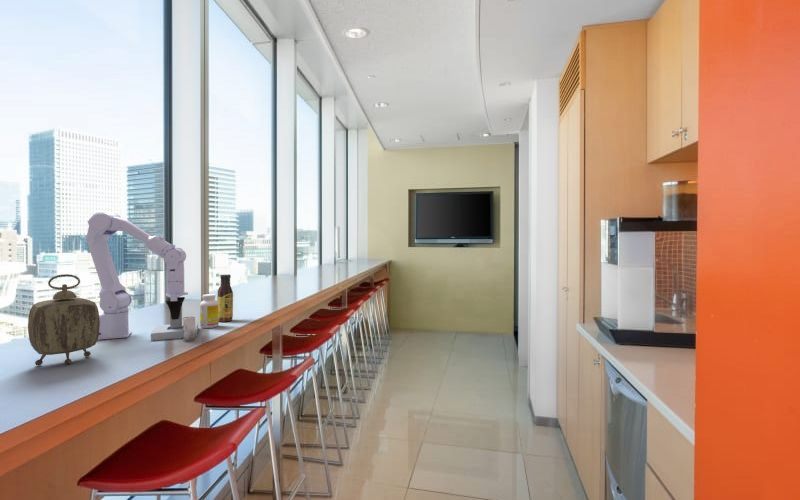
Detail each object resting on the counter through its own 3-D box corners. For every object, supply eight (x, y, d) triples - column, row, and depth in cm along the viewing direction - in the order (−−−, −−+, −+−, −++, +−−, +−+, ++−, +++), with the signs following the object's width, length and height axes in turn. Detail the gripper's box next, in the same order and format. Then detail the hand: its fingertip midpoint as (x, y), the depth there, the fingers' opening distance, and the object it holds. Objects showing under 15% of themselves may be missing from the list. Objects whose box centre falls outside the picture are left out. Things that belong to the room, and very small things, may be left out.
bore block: (150, 340, 137) (150, 333, 137) (156, 332, 149) (156, 325, 149) (196, 336, 143) (196, 329, 143) (198, 328, 155) (197, 322, 155)
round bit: (183, 342, 135) (183, 318, 135) (183, 339, 138) (183, 317, 138) (195, 341, 136) (194, 318, 136) (195, 338, 140) (195, 316, 139)
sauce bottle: (226, 322, 167) (226, 275, 166) (213, 322, 168) (213, 275, 167) (236, 319, 173) (236, 274, 172) (223, 319, 174) (223, 273, 174)
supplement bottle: (221, 325, 162) (221, 293, 161) (212, 328, 155) (212, 296, 155) (206, 324, 162) (206, 293, 162) (196, 328, 156) (196, 295, 155)
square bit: (170, 328, 144) (170, 306, 143) (171, 326, 147) (171, 305, 147) (181, 328, 145) (181, 306, 145) (182, 326, 148) (182, 304, 148)
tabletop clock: (93, 354, 120) (92, 272, 120) (102, 360, 115) (100, 273, 114) (28, 366, 109) (26, 275, 108) (34, 373, 103) (32, 277, 103)
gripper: (186, 282, 141) (187, 320, 141) (188, 278, 154) (189, 313, 154) (163, 283, 138) (163, 322, 138) (167, 279, 151) (168, 315, 151)
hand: (175, 318), depth 146 cm, fingers closed on square bit, 4 cm apart
